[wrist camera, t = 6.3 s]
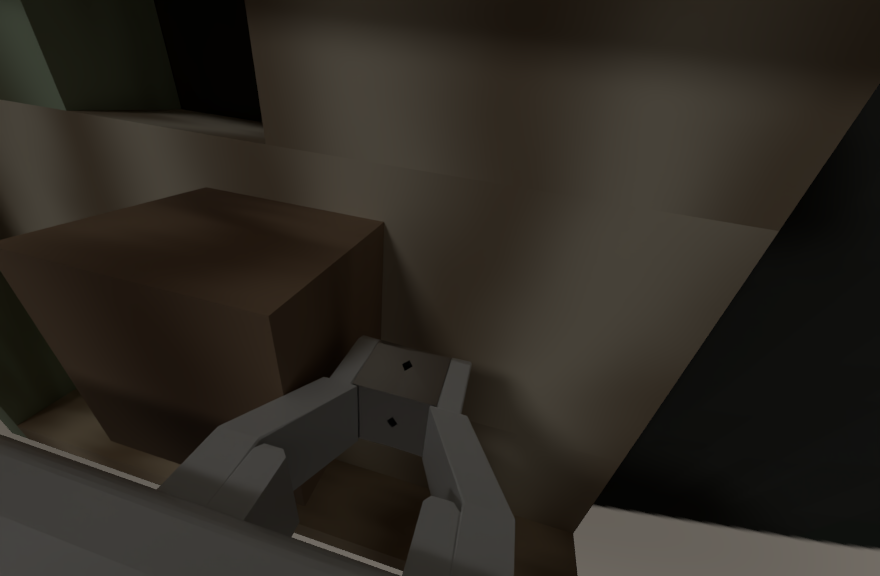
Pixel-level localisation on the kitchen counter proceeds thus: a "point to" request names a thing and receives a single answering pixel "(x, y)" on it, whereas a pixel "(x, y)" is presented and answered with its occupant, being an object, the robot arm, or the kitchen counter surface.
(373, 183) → the tray
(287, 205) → the walnut block
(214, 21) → the kitchen counter surface
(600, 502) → the kitchen counter surface
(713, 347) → the kitchen counter surface
